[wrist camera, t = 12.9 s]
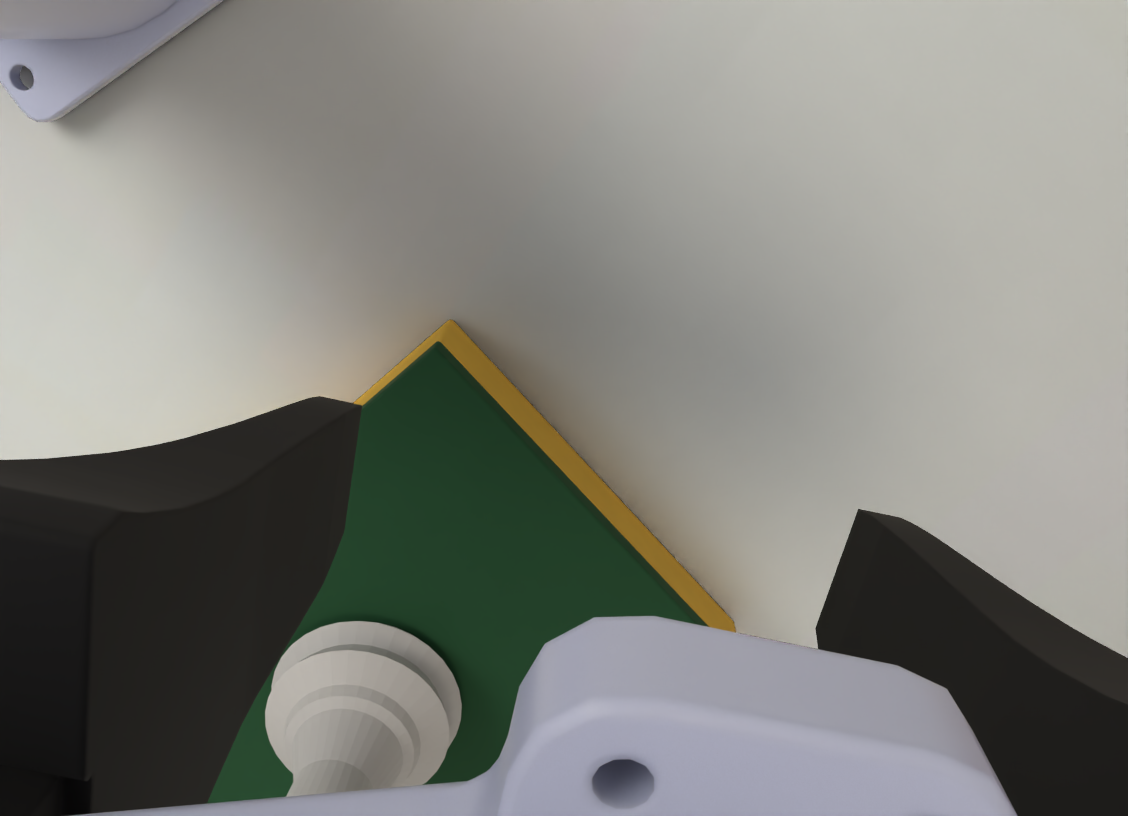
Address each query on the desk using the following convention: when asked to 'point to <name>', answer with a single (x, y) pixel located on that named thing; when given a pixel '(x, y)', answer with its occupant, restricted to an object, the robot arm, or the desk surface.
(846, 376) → the desk surface
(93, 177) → the desk surface
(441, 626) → the sponge
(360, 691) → the chess piece
